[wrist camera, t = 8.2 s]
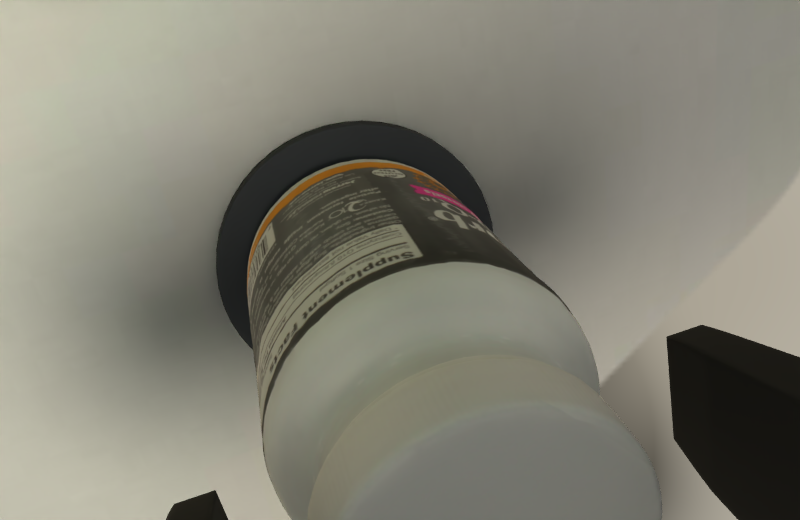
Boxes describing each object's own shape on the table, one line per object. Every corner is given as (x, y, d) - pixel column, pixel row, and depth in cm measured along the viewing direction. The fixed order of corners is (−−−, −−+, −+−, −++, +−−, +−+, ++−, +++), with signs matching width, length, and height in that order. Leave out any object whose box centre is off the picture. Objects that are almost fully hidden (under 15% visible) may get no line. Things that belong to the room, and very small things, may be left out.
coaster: (463, 86, 18) (468, 89, 17) (507, 331, 21) (513, 337, 20) (174, 168, 17) (173, 172, 16) (264, 411, 20) (266, 420, 19)
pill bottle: (510, 262, 19) (771, 530, 10) (347, 403, 20) (465, 774, 11) (372, 101, 17) (560, 271, 8) (190, 265, 17) (175, 601, 8)
